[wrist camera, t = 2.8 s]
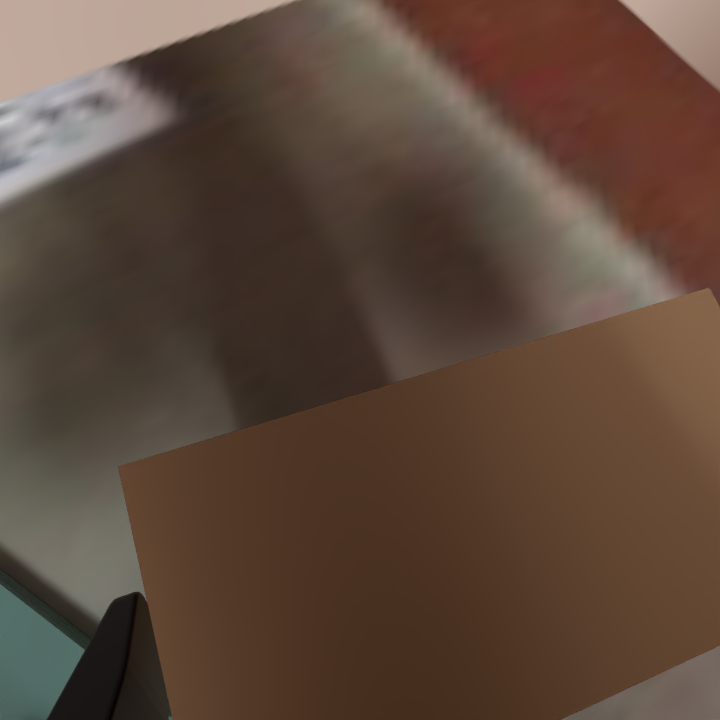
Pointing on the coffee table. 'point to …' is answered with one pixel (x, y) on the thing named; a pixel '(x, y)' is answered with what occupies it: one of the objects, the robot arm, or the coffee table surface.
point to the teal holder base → (34, 653)
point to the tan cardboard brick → (449, 535)
